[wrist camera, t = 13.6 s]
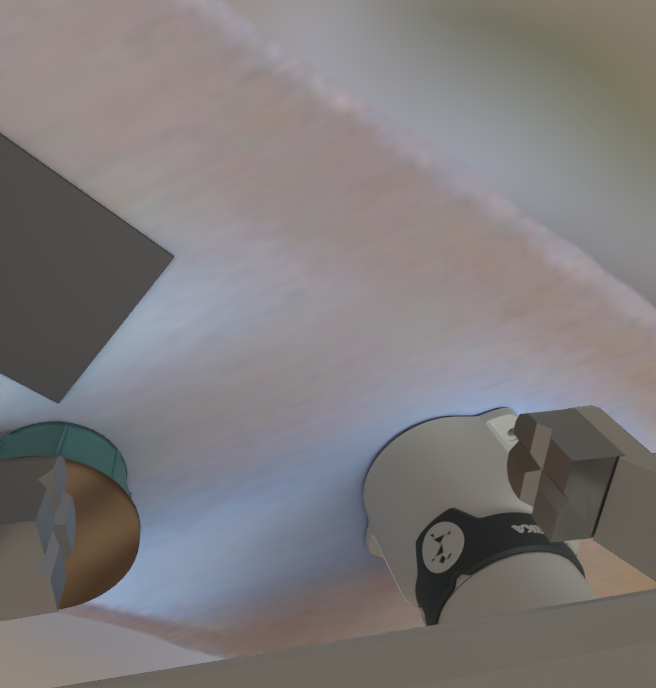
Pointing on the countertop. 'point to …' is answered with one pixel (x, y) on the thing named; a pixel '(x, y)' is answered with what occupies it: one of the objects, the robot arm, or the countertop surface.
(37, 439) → the bowl
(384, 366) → the countertop surface
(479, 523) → the robot arm
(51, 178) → the mat
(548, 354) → the countertop surface
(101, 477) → the lid
